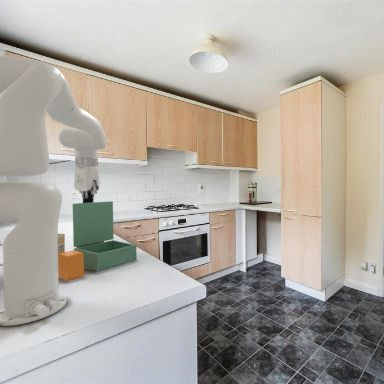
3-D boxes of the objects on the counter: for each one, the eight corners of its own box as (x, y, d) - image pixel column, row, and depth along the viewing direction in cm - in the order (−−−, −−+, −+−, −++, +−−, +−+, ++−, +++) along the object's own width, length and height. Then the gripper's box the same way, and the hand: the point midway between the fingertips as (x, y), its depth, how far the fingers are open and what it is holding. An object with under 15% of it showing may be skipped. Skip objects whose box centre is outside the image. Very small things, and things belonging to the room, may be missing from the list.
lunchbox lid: (112, 201, 99) (106, 201, 101) (73, 203, 86) (67, 203, 88) (113, 239, 100) (107, 238, 102) (74, 247, 87) (68, 245, 89)
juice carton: (84, 278, 76) (83, 252, 76) (67, 283, 72) (67, 256, 72) (74, 274, 79) (74, 250, 79) (58, 279, 75) (58, 253, 75)
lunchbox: (136, 261, 93) (136, 244, 93) (97, 273, 80) (97, 254, 80) (113, 255, 100) (113, 240, 100) (74, 266, 87) (74, 248, 87)
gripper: (66, 162, 94) (68, 207, 96) (87, 162, 87) (88, 210, 89) (86, 163, 101) (87, 205, 102) (107, 163, 94) (108, 208, 96)
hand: (88, 207), depth 96 cm, fingers closed
